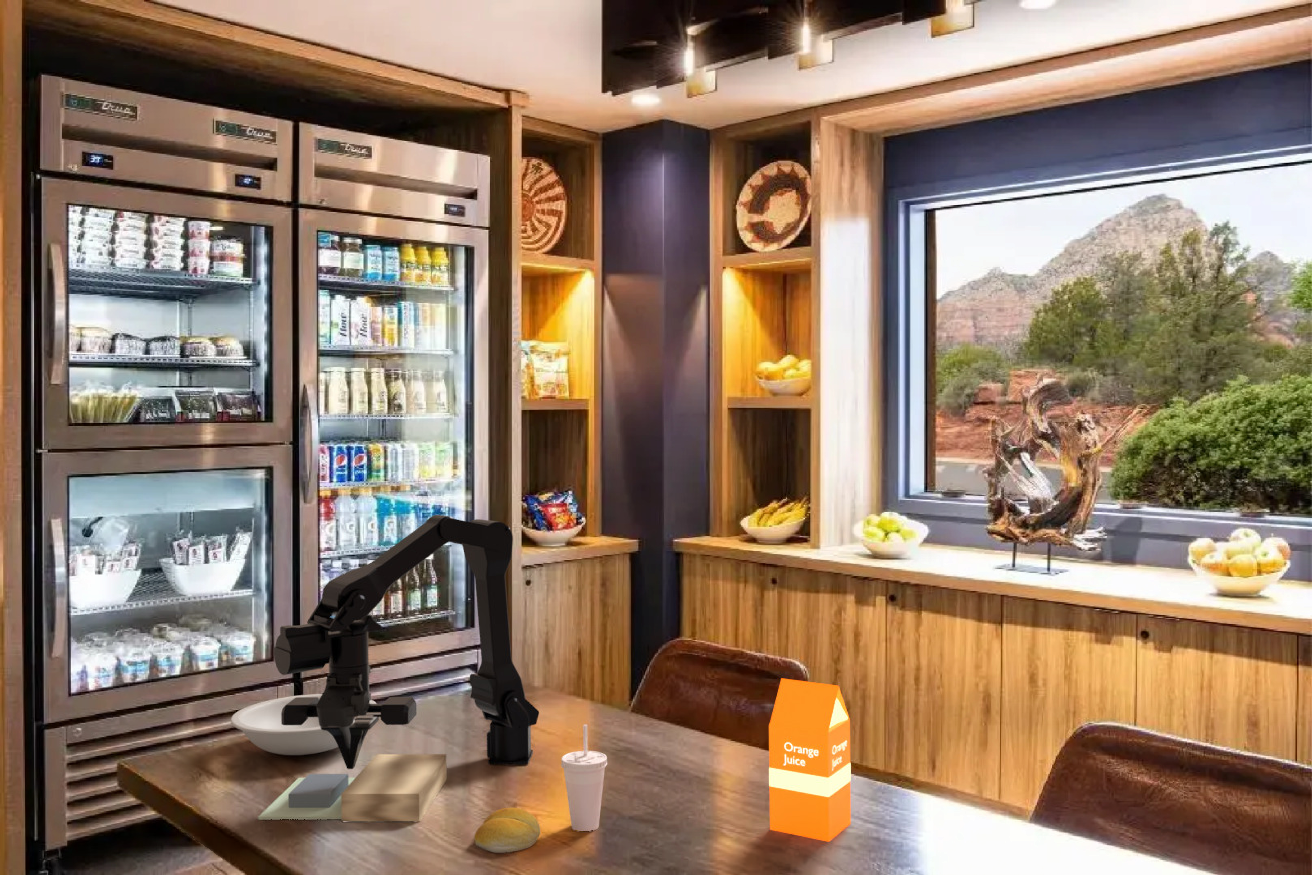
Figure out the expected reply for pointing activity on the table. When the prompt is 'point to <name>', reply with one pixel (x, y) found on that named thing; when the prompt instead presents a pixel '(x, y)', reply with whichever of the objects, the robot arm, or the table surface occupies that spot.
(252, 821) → the table surface
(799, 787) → the orange juice
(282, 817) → the mat
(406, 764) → the wooden block
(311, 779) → the grey bevelled block
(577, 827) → the smoothie
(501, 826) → the bread roll
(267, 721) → the soup bowl
